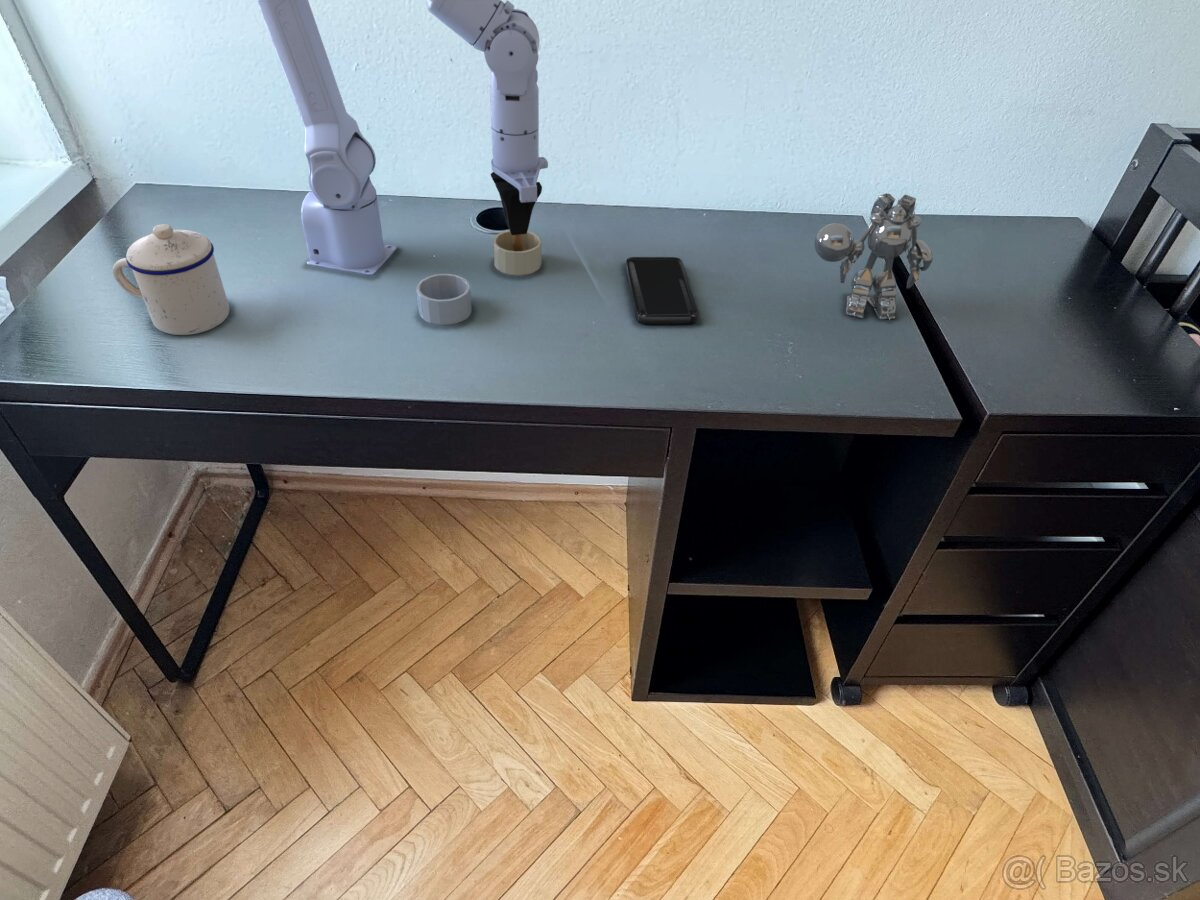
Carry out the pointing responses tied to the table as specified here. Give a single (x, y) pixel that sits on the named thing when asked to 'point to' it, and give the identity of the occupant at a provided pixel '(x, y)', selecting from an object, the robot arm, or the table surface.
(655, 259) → the phone
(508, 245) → the cream cup
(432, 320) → the grey cup
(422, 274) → the table surface
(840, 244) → the robot toy
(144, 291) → the teacup with lid
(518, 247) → the wooden wall peg
